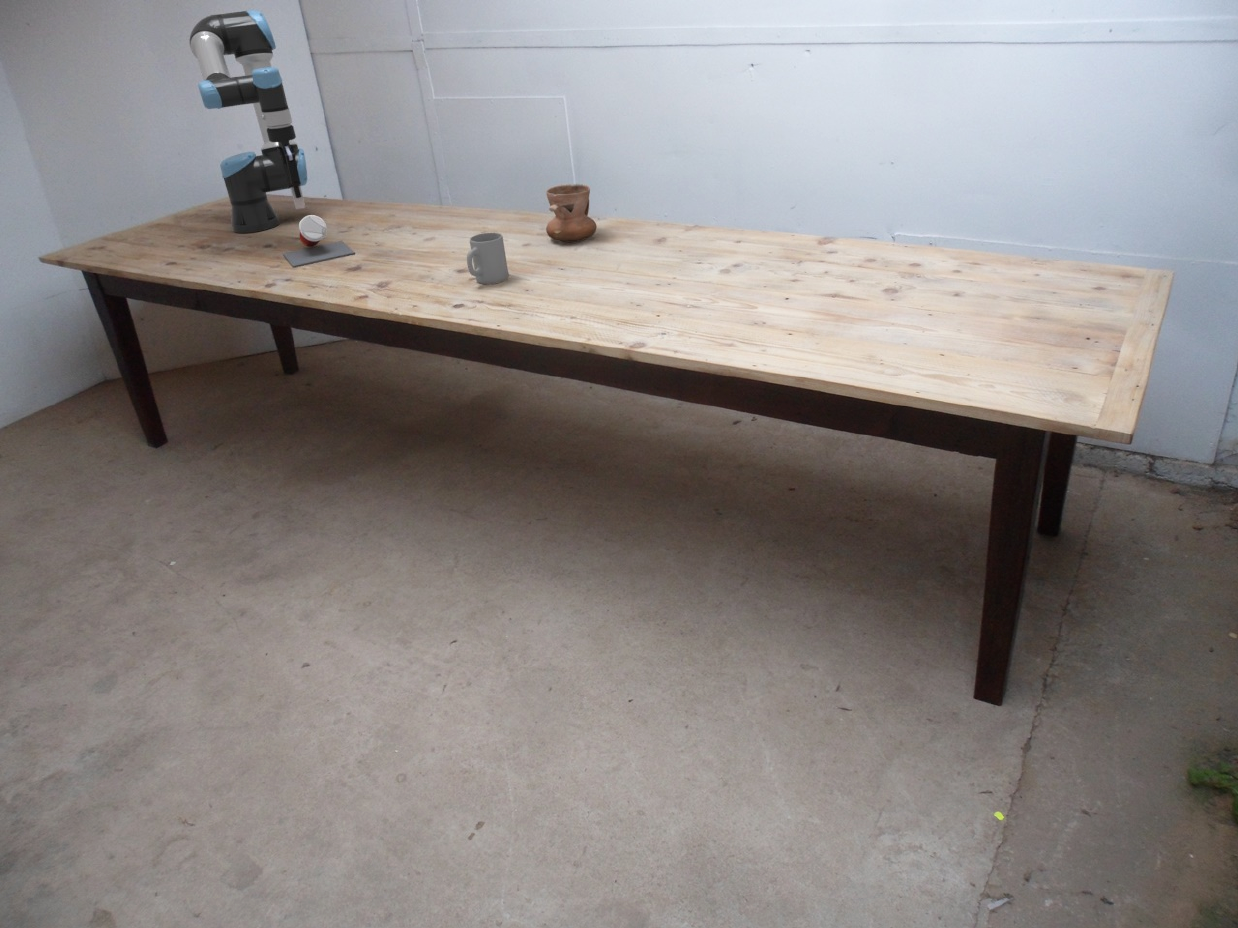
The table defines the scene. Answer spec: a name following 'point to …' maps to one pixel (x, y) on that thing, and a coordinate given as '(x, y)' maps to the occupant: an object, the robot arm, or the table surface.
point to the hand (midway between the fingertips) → (300, 208)
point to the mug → (487, 258)
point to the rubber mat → (318, 254)
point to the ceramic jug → (570, 213)
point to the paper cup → (312, 230)
